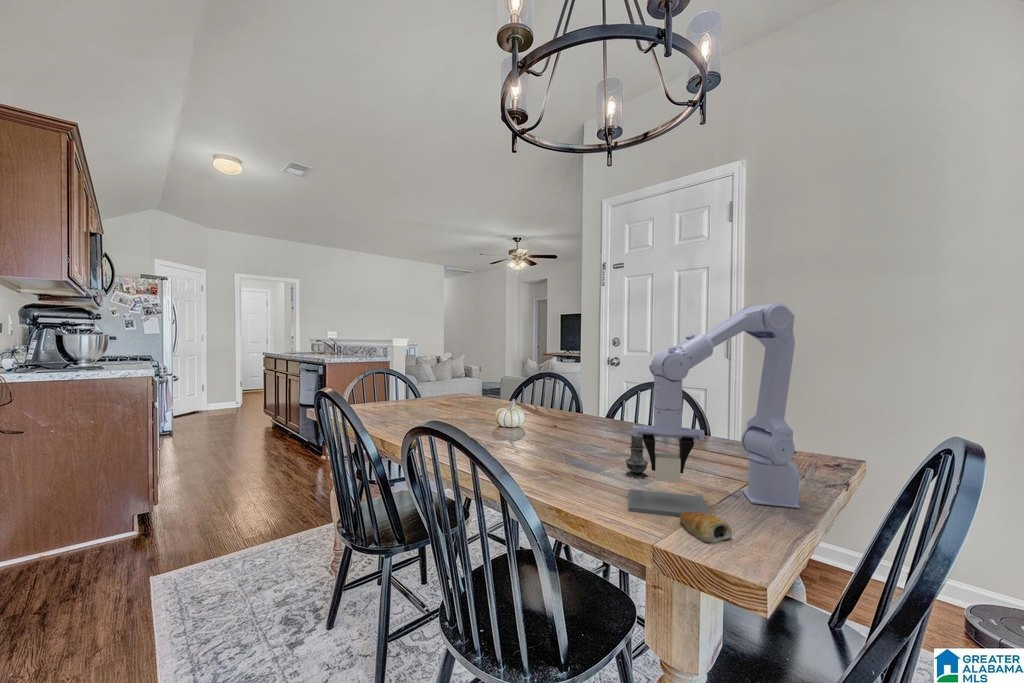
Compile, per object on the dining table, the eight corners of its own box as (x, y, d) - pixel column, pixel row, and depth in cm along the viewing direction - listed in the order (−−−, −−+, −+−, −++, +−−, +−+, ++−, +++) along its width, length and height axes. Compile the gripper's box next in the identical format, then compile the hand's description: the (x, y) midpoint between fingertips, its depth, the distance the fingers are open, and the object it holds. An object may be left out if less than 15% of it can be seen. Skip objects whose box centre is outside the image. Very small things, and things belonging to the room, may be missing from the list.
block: (677, 475, 94) (678, 453, 94) (680, 483, 90) (680, 459, 90) (654, 473, 96) (654, 451, 96) (655, 480, 91) (655, 457, 91)
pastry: (670, 524, 84) (670, 504, 84) (697, 519, 86) (697, 500, 86) (707, 546, 75) (708, 525, 75) (736, 540, 77) (737, 519, 77)
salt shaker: (649, 479, 109) (650, 433, 109) (625, 478, 110) (626, 431, 110) (646, 472, 115) (647, 428, 114) (624, 471, 116) (624, 427, 116)
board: (702, 499, 96) (702, 496, 96) (711, 520, 85) (711, 516, 85) (628, 492, 100) (628, 489, 100) (628, 510, 89) (628, 507, 89)
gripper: (701, 407, 94) (700, 468, 94) (633, 403, 98) (632, 462, 98) (706, 412, 87) (705, 478, 87) (633, 408, 91) (632, 471, 91)
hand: (667, 470), depth 92 cm, fingers closed on block, 5 cm apart
